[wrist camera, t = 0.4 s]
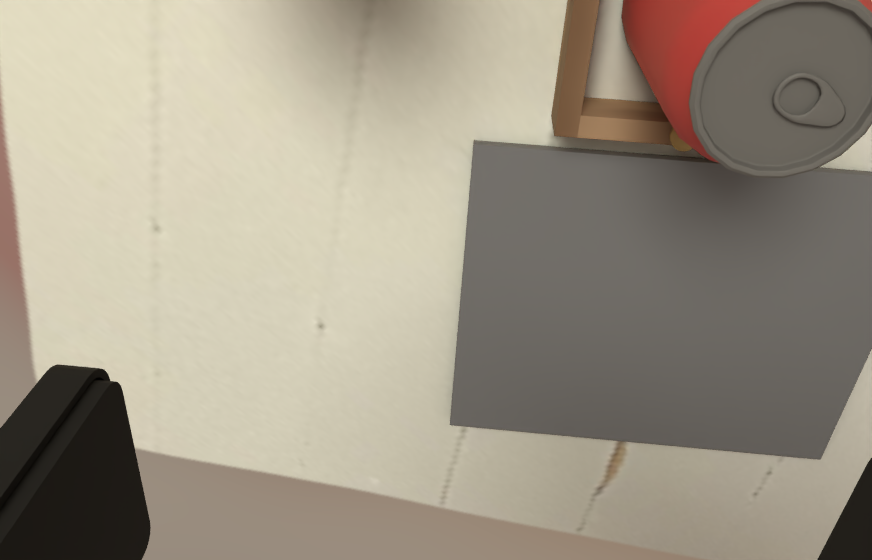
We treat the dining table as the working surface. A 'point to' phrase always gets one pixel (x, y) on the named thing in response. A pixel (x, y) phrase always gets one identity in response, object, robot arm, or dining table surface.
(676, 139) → the frame
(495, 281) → the mat
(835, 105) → the beer can
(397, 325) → the dining table surface
